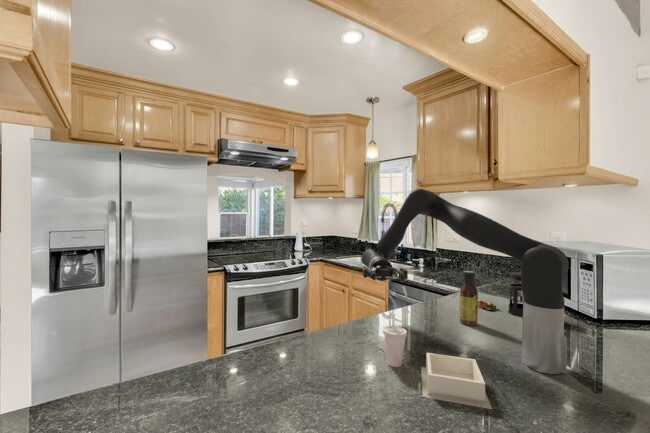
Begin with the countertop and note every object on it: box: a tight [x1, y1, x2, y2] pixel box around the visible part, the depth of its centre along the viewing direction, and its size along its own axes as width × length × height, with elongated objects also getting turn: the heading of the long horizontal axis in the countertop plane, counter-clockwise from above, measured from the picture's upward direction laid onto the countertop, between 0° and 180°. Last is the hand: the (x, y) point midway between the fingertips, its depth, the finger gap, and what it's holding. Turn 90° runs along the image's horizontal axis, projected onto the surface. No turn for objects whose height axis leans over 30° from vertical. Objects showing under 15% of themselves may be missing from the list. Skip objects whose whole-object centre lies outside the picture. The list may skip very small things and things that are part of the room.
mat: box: [420, 366, 493, 410], centre depth 73 cm, size 14×14×1 cm
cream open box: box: [425, 352, 486, 405], centre depth 73 cm, size 12×12×4 cm
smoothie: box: [382, 313, 408, 368], centre depth 83 cm, size 6×6×14 cm
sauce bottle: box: [459, 270, 479, 327], centre depth 117 cm, size 7×6×20 cm
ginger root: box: [478, 300, 500, 311], centre depth 139 cm, size 7×12×4 cm, turn 26°
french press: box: [507, 259, 523, 318], centre depth 129 cm, size 12×9×23 cm
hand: (388, 277), depth 94 cm, fingers open, 8 cm apart
